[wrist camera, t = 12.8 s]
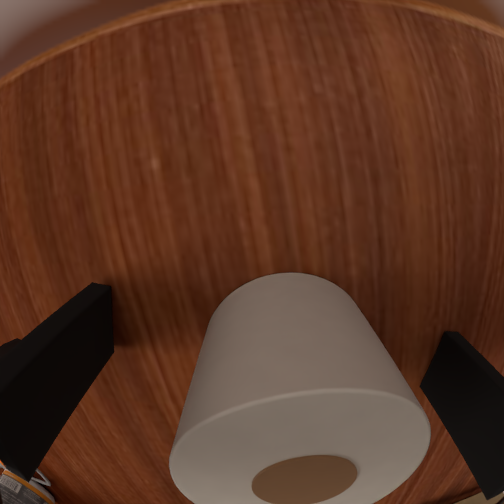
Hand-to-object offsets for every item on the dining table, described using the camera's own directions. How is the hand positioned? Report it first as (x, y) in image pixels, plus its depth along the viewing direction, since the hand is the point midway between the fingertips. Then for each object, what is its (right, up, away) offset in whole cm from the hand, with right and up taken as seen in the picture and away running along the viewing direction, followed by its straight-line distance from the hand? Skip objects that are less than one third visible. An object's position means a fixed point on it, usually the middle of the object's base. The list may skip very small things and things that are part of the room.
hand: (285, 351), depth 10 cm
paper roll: (0, 0, 0) cm, 0 cm away
